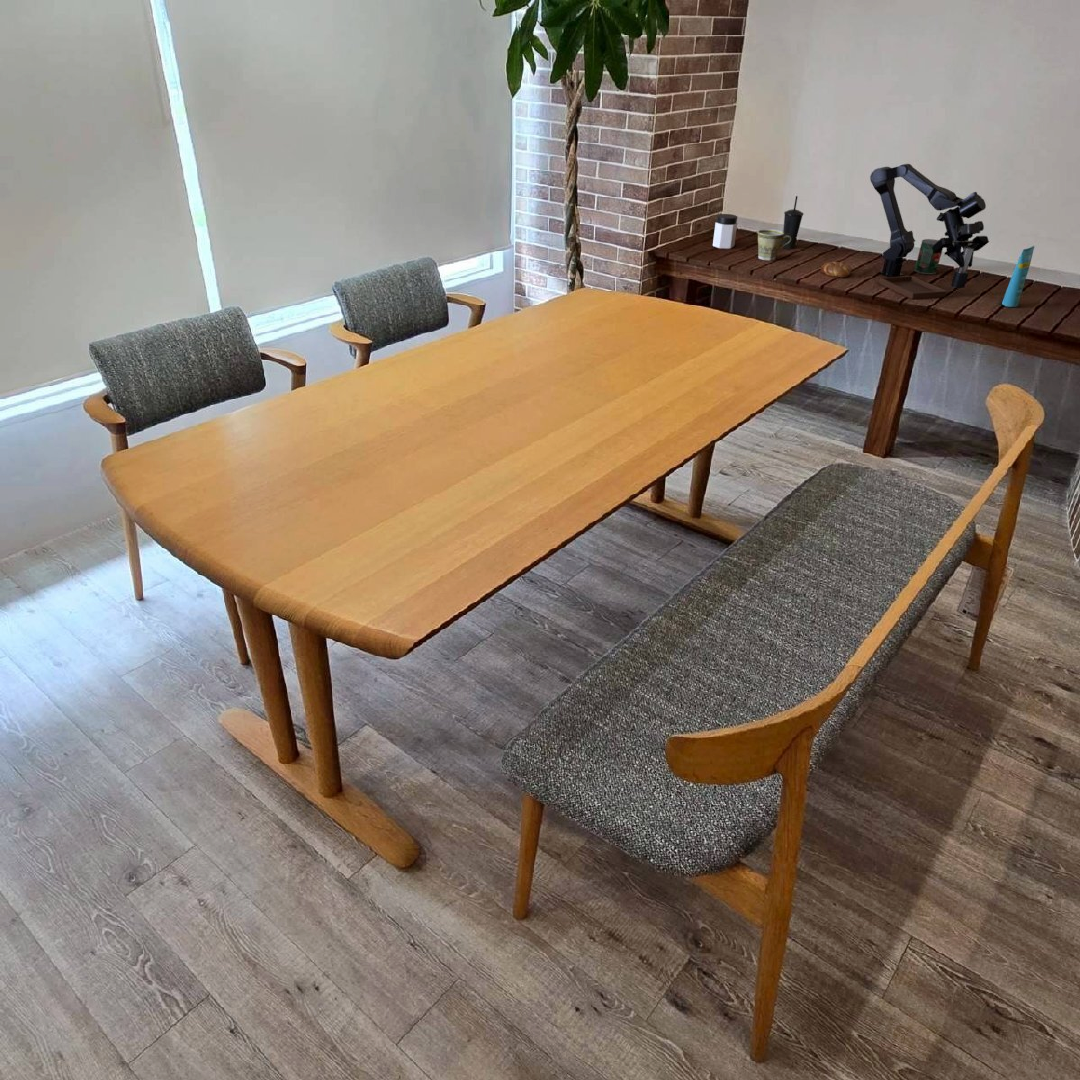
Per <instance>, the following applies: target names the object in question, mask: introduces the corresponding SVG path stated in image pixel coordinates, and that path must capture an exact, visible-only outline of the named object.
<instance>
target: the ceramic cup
mask: <svg viewBox="0 0 1080 1080" xmlns="http://www.w3.org/2000/svg"><path fill="white" fill-rule="evenodd" d="M783 235H784V233H783V231H782V230H778V229H772V228H771V229H768V228H766V229H765V228H764V229H759V230H758V231H757V244H758V245H757V247H758V249H757V253H758V255H757V257H758V259H759V260H761V261H769V262H770V261H775V260H776V258H777V255H778V252H779V251H780V250H781V249H782V248H783V246H785V245H786V244H788V243H789V242H790V241H791V237H790V236H789V235H786V236H783ZM786 237H789V238H790V241H789V242H787V243H786V244H784V245H783V246H782V241H783V239H784V238H786Z"/></svg>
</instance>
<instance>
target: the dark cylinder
mask: <svg viewBox="0 0 1080 1080" xmlns="http://www.w3.org/2000/svg"><path fill="white" fill-rule="evenodd" d="M972 252H973V248H971V247H965V248H964V252H963V255H962V257H963V261H964V267H962V268H961V267H960V266H959V265H958V269H956V270H955V271H954V273H953V274H954V275H953V278H952V280H951V284H950V286H951V287H952V288H956V289H964V288H965V287H966V284H967V280H968V278H969V274H970V272H969V271H968V268H969V262H970V259H971V256H972Z"/></svg>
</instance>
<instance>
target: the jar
mask: <svg viewBox="0 0 1080 1080" xmlns="http://www.w3.org/2000/svg"><path fill="white" fill-rule="evenodd" d="M714 223H715V224H714V232H713V239H712V246H713V247H715V248H717V249H725V250H729V249H732V248H733V247H735V244H736V237H737V231H738V230H737V229H738V216H737V215H736V214H730V213H720V214H717V215H716V222H714Z"/></svg>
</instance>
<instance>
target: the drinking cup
mask: <svg viewBox="0 0 1080 1080" xmlns="http://www.w3.org/2000/svg"><path fill="white" fill-rule="evenodd" d="M798 197H799V196H798V195H796V196H795V200H794V205H793V208H792V209H788V210H785V211H784V212H783V214H784V218H783V229H782V230H783V231H782V232H783V233H784V235H783V236H786V235H789V236H790V237H791V241H790V238H789V237H786V238H784V239H783V240H782V242H781V247H782V246H783V245H784V244H786V243H787V242H789V241H790V242H789V243H788V244H786V245H785V246H783V247H782V248H783V249H787V250H792V249H794V248H795V245H796V241H797V238H798V234H799V231H800V226H801V223H802V219H803V216H804V214H805V213H804V212H802V211H800V210H799V209H797V203H798Z"/></svg>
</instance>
